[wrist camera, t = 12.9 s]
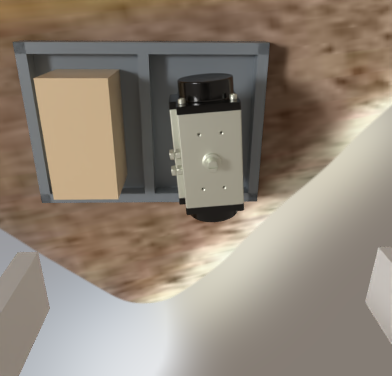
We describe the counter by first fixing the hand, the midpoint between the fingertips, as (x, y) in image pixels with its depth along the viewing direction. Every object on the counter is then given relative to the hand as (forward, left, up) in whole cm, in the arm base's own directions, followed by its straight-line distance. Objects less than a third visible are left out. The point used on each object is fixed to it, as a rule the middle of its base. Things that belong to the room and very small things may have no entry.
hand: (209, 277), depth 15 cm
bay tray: (+1, -5, -27) cm, 27 cm away
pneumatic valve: (+1, +1, -26) cm, 26 cm away
